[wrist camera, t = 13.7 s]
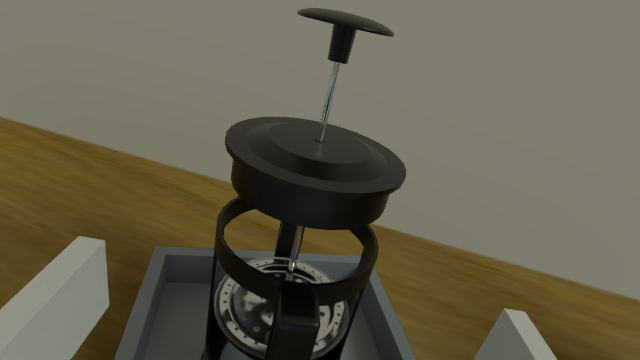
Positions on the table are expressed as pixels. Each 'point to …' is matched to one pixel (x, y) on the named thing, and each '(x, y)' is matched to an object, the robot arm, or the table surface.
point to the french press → (299, 223)
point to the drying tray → (193, 302)
